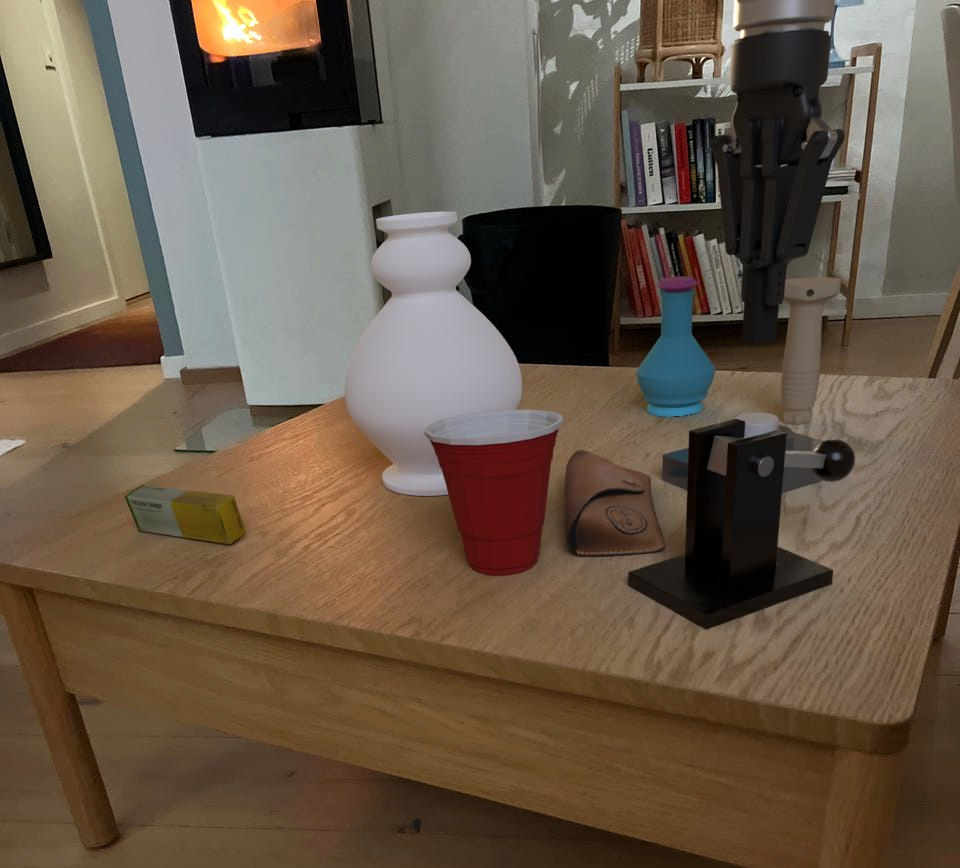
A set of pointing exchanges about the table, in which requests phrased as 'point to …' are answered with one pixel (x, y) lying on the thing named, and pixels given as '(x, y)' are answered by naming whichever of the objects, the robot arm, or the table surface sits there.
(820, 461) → the lever with black ball
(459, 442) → the plastic cup
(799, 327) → the handle
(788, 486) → the block
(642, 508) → the sunglasses case
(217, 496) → the medication box
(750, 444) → the lever bracket
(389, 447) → the decorative vase
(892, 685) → the table surface
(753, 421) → the flush button
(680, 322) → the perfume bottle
